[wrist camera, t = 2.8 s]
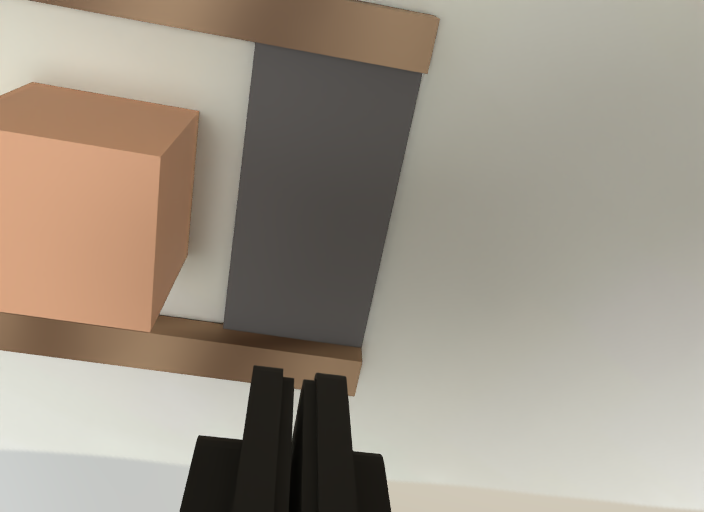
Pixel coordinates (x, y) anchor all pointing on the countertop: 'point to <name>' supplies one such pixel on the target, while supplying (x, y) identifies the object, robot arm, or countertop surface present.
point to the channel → (284, 191)
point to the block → (92, 204)
